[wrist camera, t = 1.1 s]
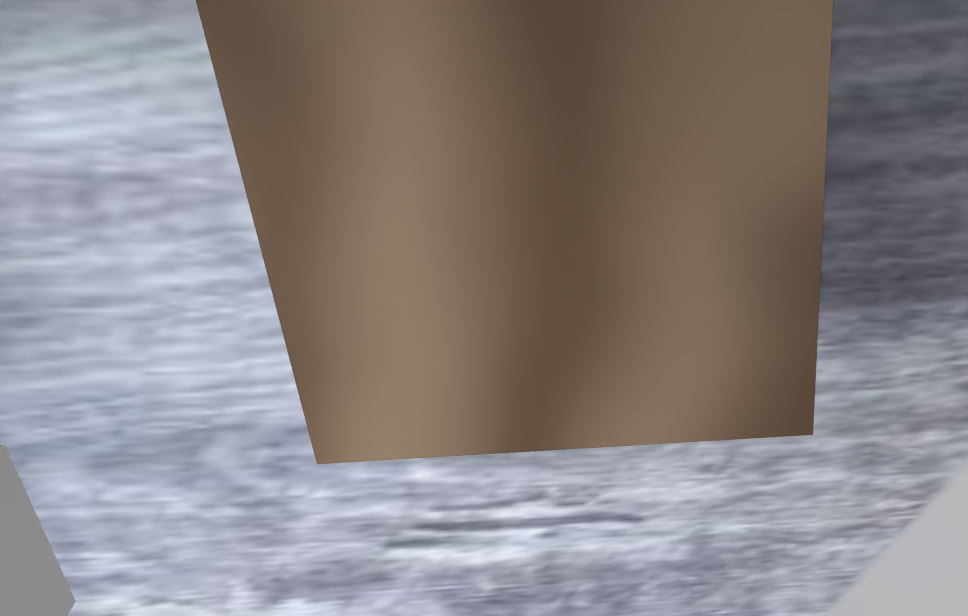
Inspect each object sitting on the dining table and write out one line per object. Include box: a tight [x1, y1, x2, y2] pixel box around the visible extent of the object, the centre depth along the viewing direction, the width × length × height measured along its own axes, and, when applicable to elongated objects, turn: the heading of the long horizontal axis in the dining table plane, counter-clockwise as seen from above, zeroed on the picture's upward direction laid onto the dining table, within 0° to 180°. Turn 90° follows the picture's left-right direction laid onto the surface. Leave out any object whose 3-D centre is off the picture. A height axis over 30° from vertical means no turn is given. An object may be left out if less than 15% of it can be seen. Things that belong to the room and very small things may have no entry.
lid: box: [196, 0, 833, 464], centre depth 20 cm, size 12×12×2 cm
